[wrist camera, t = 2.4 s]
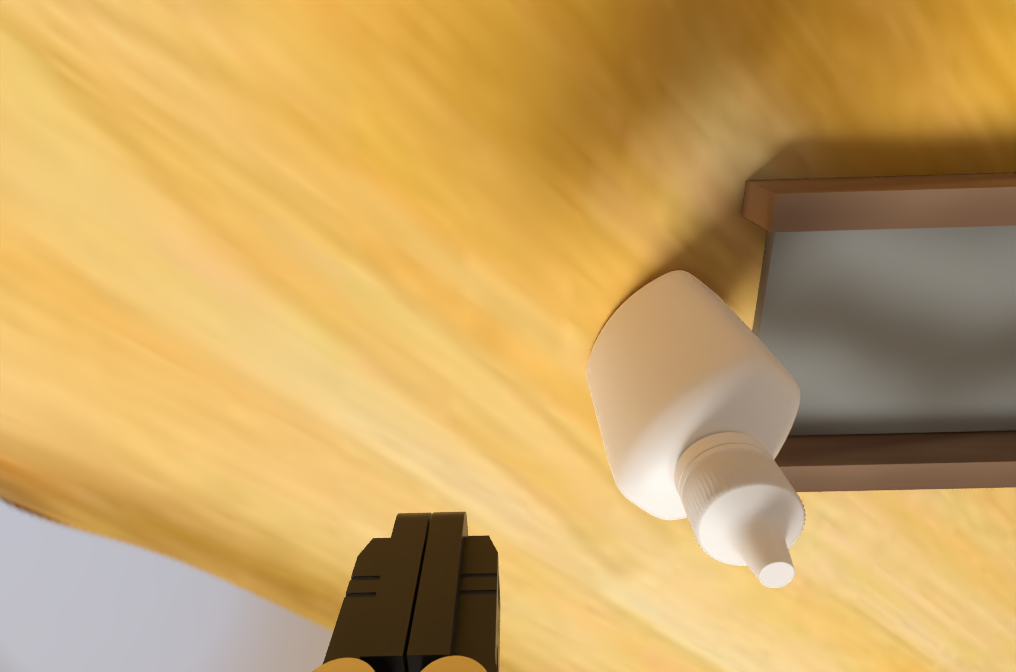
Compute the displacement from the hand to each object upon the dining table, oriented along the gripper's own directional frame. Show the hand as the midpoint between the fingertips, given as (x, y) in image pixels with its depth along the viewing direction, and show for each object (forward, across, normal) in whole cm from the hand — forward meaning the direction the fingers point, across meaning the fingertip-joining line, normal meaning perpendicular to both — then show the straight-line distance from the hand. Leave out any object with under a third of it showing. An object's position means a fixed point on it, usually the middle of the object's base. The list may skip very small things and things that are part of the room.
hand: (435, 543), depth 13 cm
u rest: (+11, -16, 0) cm, 20 cm away
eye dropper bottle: (+11, -7, 0) cm, 13 cm away
